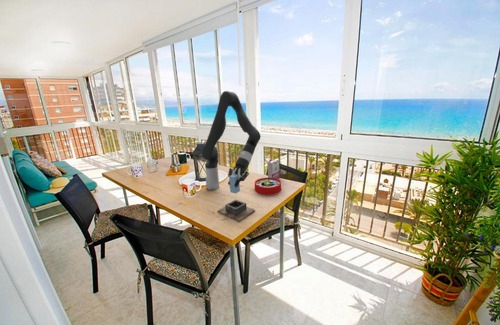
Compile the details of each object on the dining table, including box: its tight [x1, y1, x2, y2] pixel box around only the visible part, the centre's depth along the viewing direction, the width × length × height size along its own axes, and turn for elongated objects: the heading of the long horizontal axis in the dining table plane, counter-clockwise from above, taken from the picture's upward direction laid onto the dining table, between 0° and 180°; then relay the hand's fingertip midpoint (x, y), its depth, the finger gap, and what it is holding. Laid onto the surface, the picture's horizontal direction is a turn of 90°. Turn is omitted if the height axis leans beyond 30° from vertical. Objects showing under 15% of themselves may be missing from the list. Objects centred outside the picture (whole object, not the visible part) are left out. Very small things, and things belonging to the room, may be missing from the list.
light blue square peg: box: [228, 174, 241, 195], centre depth 114 cm, size 4×4×10 cm
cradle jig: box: [217, 199, 256, 223], centre depth 118 cm, size 18×14×5 cm
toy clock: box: [254, 177, 282, 196], centre depth 148 cm, size 20×6×20 cm
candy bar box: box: [266, 158, 280, 179], centre depth 166 cm, size 11×5×16 cm, turn 139°
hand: (232, 185), depth 112 cm, fingers closed on light blue square peg, 4 cm apart
